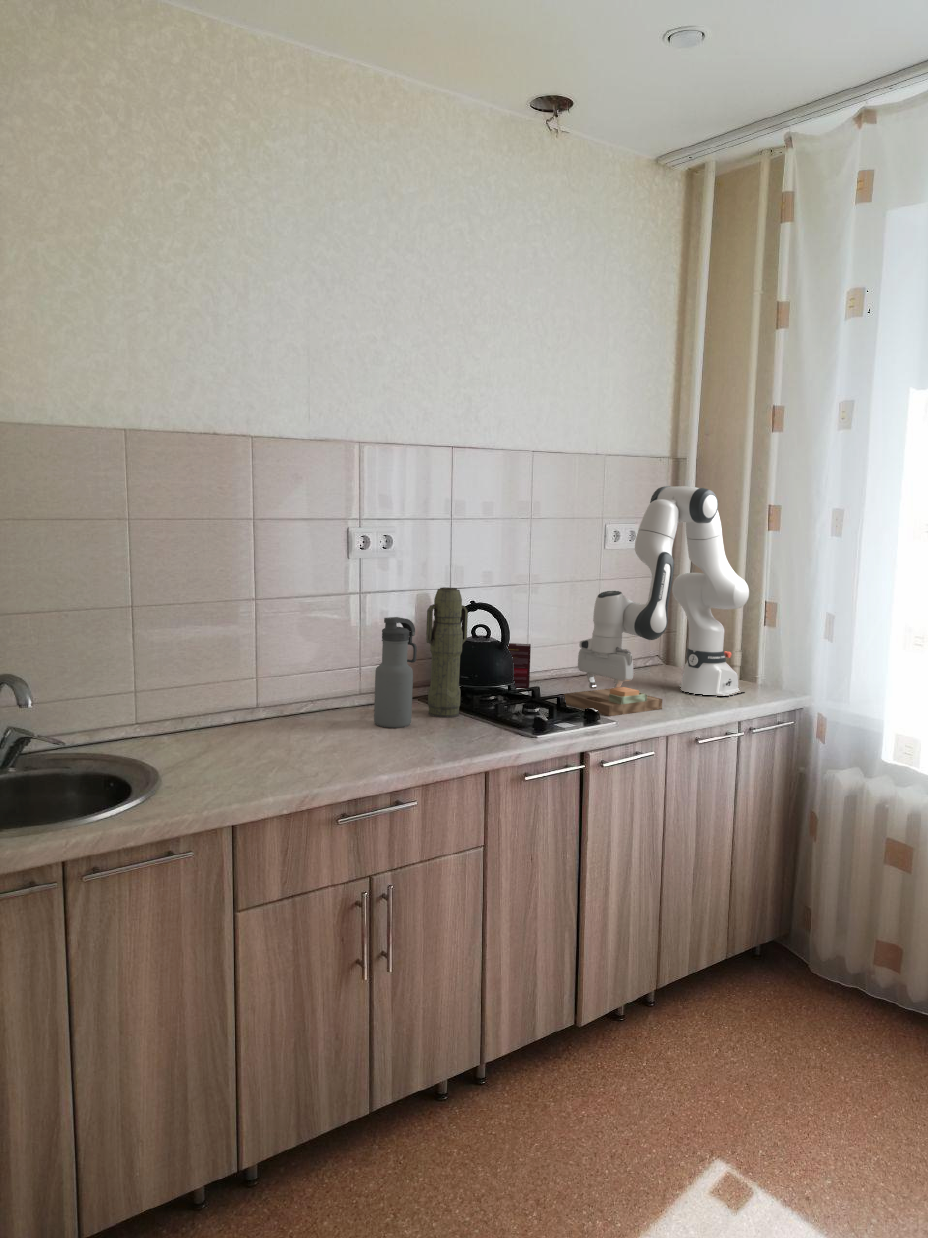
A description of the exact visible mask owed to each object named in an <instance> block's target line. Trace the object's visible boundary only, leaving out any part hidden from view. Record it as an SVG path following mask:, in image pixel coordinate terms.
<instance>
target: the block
mask: <svg viewBox="0 0 928 1238" xmlns="http://www.w3.org/2000/svg"><path fill="white" fill-rule="evenodd" d="M610 688H611V689H610V694H613V695H617V696H621V697H624V696H632V695H639V692H640V690H639V689H634V688H630V687H626V686H621V687H620V688H614V687H610Z"/></svg>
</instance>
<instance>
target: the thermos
mask: <svg viewBox="0 0 928 1238" xmlns="http://www.w3.org/2000/svg"><path fill="white" fill-rule="evenodd" d="M433 599H434V600H433V602H434V603H433V604H431V605H429V607H428V608H427V611H426V634H425V635H426V643H427V644H430V647H429V650H430V653H431V665H430V667H431V669H430V686H429V688H428V692H427V693H428V695H427V698H428V699H427V705H428V712H427V714H428V715H429V716H431V717H435V718H448V719H449V718H456V717H458V716H460V706H461V696H462V695H461V688H460V673H461V672H460V669H461V668H460V667H461V655H462V653H463V644H464V643H465V642H466V641H467V640H468V620H469V619H468V618H469V610H468V608H467V607H466V606H465V605H463V599H462V594H461V591H460V589H458V588H456V587H448V586H447V587H445V586H443V587H440V588H438V589H437V591H436V594H435V596H434V598H433ZM433 619H434V620H433Z"/></svg>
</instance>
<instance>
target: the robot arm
mask: <svg viewBox="0 0 928 1238" xmlns="http://www.w3.org/2000/svg"><path fill="white" fill-rule="evenodd" d="M649 501H650V502H649V504H648V506H647V509H645V513H644V514H643V517H642V519H641V522H640V524H639V528H638V531H637V534H636V538H635V543H634V551H635V554H636V555H637V557H638V560H640V561H641V563H643V564H644V565H646V566H647V568H648V569H649V571H650V572H651V581H650V587H649V593H648V598H647V602H646V603H640V602H635V600H634V601H633V600H632V599H629V598H628V597H626V596H625V595H624V593H623V592H622V591H619V590H607V591H602V592H600V593H599V594H597V596H596V599H595V603H594V609H593V618H592V622H593V630H592V635H591V638H587V639H584V640H583V639H582V640H580V641H579V644H578V645H579V648H580V649H579V651H578V656H577V669H578V670H579V671H580V672H583V673H586V678H587V680H588V682H589V684H588V688H589V689H594V690H595V689H597V687H598V686H597V684H598V683H597V682H596V681H595V677H596V676H600V677H605V678H609V679H612V680H613V681H614V682H613V683H614V685H613V688H620V687H622V685H623V683H624V682H629V681H632V680H633V678H634V661H633V654H632V653H631V651H630V650H629V649H627V648H626V649H625V648H622V647H623V646H622V645H623V644H622V643H623V633H625V634H628V635H629V634H630V635H632V636H636V637H640V638H643V639H644V640H648V641H655V640H657V639H659V638H660V637H661V636H662V635H663V634H664V633H665V632H666V630H667V627H668V624H669V612H668V611H669V602H670V597H671V592H672V595H673V598H674V599H675V601H676V602H678V604H679V605H680V606H681V607H682V609H683V611H684V612H685V615H686V619H687V621H688V647H687V648H686V654H685V655H686V658H685V659H686V660H687V661H686V663H684V668H683V673H682V674H683V675H682V678H681V683H679V686H681V688H680V689H681V690H683V691H685V692H689V693H694V694H693V695H695V694H703V695H723V696H725V695H729V694H732V693H735V692H738V691H740V690H739V688H738V687H739V675H738V673H737V672H736V671H735V669H733V668H732V667H731V666H730V665H729V664H728V663H727V660H726V659H728V658H729V659H730V658H731V657H732V652H731V651H726V650H724V643H725V642H724V641H725V627H724V625H723V624H722V623H721V622H720V621H719V620H718V619H716V618H715V616H714V615H713V613H712V609H718V610H719V609H720V610H736V609H742V608H743V607H744V606H745V605H746V603H748V601H749V597H750V589H749V585H748V583H747V582H746V580H745V579H744V578H742V577H741V576H740V575H738V574H737V573H736V572H735V571H734V569H733V567H732V566H731V564H730V562H729V561H728V558H727V556H726V552H725V545H724V539H723V538H724V537H723V529H722V528H723V527H722V521H721V518H720V513H719V501H718V497H717V495H716V493H714V491H713V490H711V489H708V488H705V487H695V486H690V485H689V486H688V485H682V486H681V485H680V486H678V485H676V486H671V485H666V486H660V487H658V488H657V489H655V491H654V492H653V493H652V496H651V497H650V500H649ZM679 523H685V533H686V535H685V536H686V545H687V552H688V553H687V554H688V558H689V560H690V562H691V563H692V564H693V565H694V566H696V567H697V568H698V569H700V571H702V572H688V573H680V574H678V576H676V578H675V579H674V569H675V560H674V558H673V546H674V542H675V539H676V534H677V529H678V525H679ZM673 579H674V580H673ZM681 690H680V691H681ZM685 692H684V693H685ZM689 693H688V694H689Z"/></svg>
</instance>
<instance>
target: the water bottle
mask: <svg viewBox="0 0 928 1238" xmlns="http://www.w3.org/2000/svg"><path fill="white" fill-rule="evenodd" d="M383 620H384V621H383V623H384V624H385V625H384V628H382V630H381V642H382V650H381V651H382V654H381V663H380V664H378V666H376V668H375V673H374V674H375V679H374V707H373V708H374V709H373V710H374V711H373V722H374V724H375V725H377V726H378V727H382V728H388V729H401V728H407V727H408V726H410V725H411V724H412V717H413V716H412V713H413V683H414V671H413V668H412V667H411V666H410V665H409V664H408V663H413V664H414V663H416V662H417V656H418V655H417V649H418V647H417V644H416V643H415V642H413V637H415V635H416V628H415V624H414V623H413V621H412V620H410V619H408V618H404V617H398V616H392V617H391V616H389V617H384V618H383ZM397 624H401V626H398V625H397ZM408 646H412V649H413V654H412V659H408V652H409V651H408V649H409V647H408Z"/></svg>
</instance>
